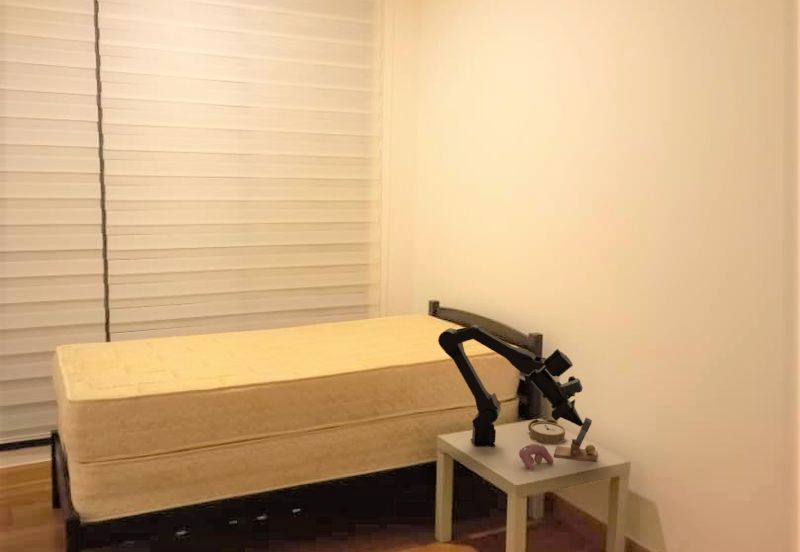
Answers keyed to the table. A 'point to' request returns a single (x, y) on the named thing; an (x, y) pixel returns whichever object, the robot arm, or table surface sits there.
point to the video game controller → (539, 454)
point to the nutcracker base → (576, 452)
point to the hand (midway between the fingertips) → (582, 425)
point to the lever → (583, 431)
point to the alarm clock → (546, 431)
